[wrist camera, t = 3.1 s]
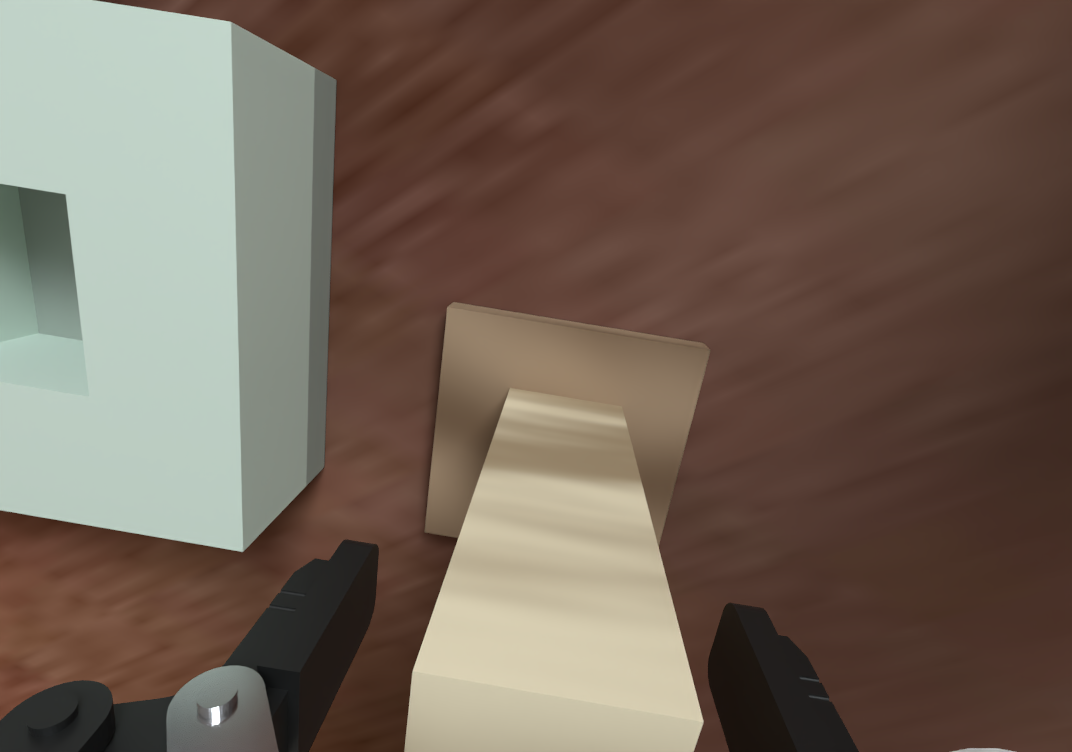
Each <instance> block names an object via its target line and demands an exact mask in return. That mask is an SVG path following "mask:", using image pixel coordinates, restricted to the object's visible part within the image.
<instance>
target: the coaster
mask: <svg viewBox="0 0 1072 752" xmlns="http://www.w3.org/2000/svg"><path fill="white" fill-rule="evenodd" d="M709 354H710V349H709V348H708V347H707V346H706V345H705V344H704V343H700V342H694V341H688V340H682V339H675V338H669V337H663V336H657V335H651V334H645V333H639V332H633V331H627V330H621V329H615V328H608V327H602V326H596V325H590V324H584V323H578V322H572V321H566V320H560V319H554V318H548V317H541V316H535V315H529V314H523V313H517V312H511V311H505V310H499V309H493V308H487V307H481V306H474V305H468V304H462V303H456V302H453V303H452V304H451V305H449V306H448V307H447V316H446V326H445V335H444V345H443V355H442V365H441V375H440V384H439V394H438V404H437V414H436V424H435V434H434V443H433V453H432V463H431V473H430V483H429V492H428V502H427V512H426V522H425V532H426V533H431V534H437V535H443V536H449V537H455V538H459V535H460V532H461V529H462V526H463V523H464V520H465V517H466V514H467V512H468V509H469V506H470V503H471V500H472V497H473V494H474V491H475V488H476V485H477V482H478V480H479V477H480V474H481V471H482V468H483V465H484V462H485V459H486V456H487V453H488V450H489V448H490V445H491V442H492V439H493V436H494V433H495V430H496V427H497V424H498V421H499V418H500V416H501V413H502V410H503V407H504V404H505V401H506V398H507V395H508V392H509V389H510V388H514V389H520V390H526V391H532V392H538V393H544V394H550V395H556V396H562V397H568V398H574V399H580V400H586V401H592V402H598V403H604V404H610V405H616V406H622V408H623V412H624V416H625V420H626V424H627V427H628V431H629V435H630V439H631V443H632V447H633V451H634V455H635V458H636V462H637V466H638V470H639V474H640V478H641V482H642V486H643V489H644V493H645V497H646V501H647V505H648V509H649V513H650V517H651V520H652V524H653V528H654V532H655V536H656V540H657V544H658V547H659V543H660V539H661V535H662V531H663V528H664V524H665V520H666V516H667V513H668V509H669V505H670V501H671V497H672V494H673V490H674V486H675V482H676V479H677V475H678V471H679V467H680V464H681V460H682V456H683V452H684V448H685V445H686V441H687V437H688V433H689V430H690V426H691V422H692V418H693V414H694V411H695V407H696V403H697V399H698V396H699V392H700V388H701V384H702V380H703V377H704V373H705V369H706V365H707V362H708V358H709Z"/></svg>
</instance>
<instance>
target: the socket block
mask: <svg viewBox="0 0 1072 752" xmlns="http://www.w3.org/2000/svg"><path fill="white" fill-rule="evenodd" d="M335 110H336V80H335V79H334V78H332V77H330V76H328V75H326V74H324V73H323V72H321V71H319V70H317V69H315V68H314V67H312V66H310V65H308V64H306V63H305V62H303V61H301V60H299V59H297V58H295V57H294V56H292V55H290V54H288V53H286V52H285V51H283V50H281V49H279V48H277V47H276V46H274V45H272V44H270V43H268V42H266V41H265V40H263V39H261V38H259V37H257V36H256V35H254V34H252V33H250V32H248V31H247V30H245V29H243V28H241V27H239V26H237V25H236V24H234V23H232V22H228V21H222V20H215V19H209V18H203V17H196V16H190V15H184V14H177V13H171V12H165V11H158V10H152V9H146V8H139V7H133V6H126V5H120V4H114V3H107V2H101V1H95V0H0V510H2V511H8V512H14V513H20V514H26V515H32V516H37V517H43V518H49V519H55V520H61V521H66V522H72V523H78V524H84V525H90V526H95V527H101V528H107V529H113V530H119V531H125V532H130V533H136V534H142V535H148V536H154V537H159V538H165V539H171V540H177V541H183V542H188V543H194V544H200V545H206V546H212V547H217V548H223V549H229V550H235V551H241V552H243V551H244V550H245V549H246V548H247V547H248V546H249V545H250V544H251V543H252V542H253V541H254V540H255V539H256V538H257V537H258V536H259V535H260V534H261V533H262V532H263V531H264V530H265V529H266V527H267V526H268V525H269V524H270V523H271V522H272V521H273V520H274V519H275V518H276V517H277V516H278V515H279V514H280V513H281V512H282V511H283V510H284V509H285V508H286V507H287V506H288V505H289V504H290V502H291V501H292V500H293V499H294V498H295V497H296V496H297V495H298V494H299V493H300V492H301V491H302V490H303V489H304V488H305V487H306V486H307V485H308V484H309V483H310V482H311V481H312V480H313V478H314V477H315V476H316V475H317V474H318V473H319V472H320V471H321V470H322V469H323V468H324V457H325V426H326V394H327V362H328V331H329V299H330V268H331V236H332V205H333V173H334V142H335Z"/></svg>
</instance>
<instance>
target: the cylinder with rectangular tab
mask: <svg viewBox="0 0 1072 752" xmlns="http://www.w3.org/2000/svg"><path fill="white" fill-rule="evenodd" d="M952 752H1014V751H1009V750H1003V749H998V748H968V749H963V750H957V751H952Z"/></svg>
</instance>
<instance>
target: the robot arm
mask: <svg viewBox="0 0 1072 752" xmlns="http://www.w3.org/2000/svg"><path fill="white" fill-rule="evenodd" d="M378 555H379V548H378V545H377V544H370V543H364V542H358V541H352V540H344V541H343V542H342V543H341V544H340V546H339V547H338V548H337V550H336V551H335V553H334V554H333V556H332V557H331V559H330V560H329V561H327V560H320V559H314V560H312V561H311V562H309V563H308V564H306V565H305V566H303V567H302V568H300V569H299V570H297V571H296V572H294V574H293V575H292V576H291V578H290V579H289V580H288V581H287V583H286V584H285V585H284V587H283V588H282V589H281V592H280V593H278V595H277V596H276V597H275V599H274V600H273V601H272V602H271V604H270V607H269V608H267V609H266V610H265V612H264V613H263V614H262V616H261V617H260V618H259V619H258V621H257V622H256V623H255V625H254V626H253V627H252V629H251V630H250V631H249V633H248V634H247V635H246V637H245V638H244V639H243V640H242V642H241V643H240V644H239V646H238V647H237V648H236V650H235V651H234V652H233V654H232V655H231V656H230V658H229V659H228V660H227V661H226V663H225V664H224V665H223V666H222V667H219V668H215V669H212V670H209V671H207V672H205V673H203V674H200V675H198V676H197V677H195V678H194V679H192V680H191V681H189V682H188V683H187V684H185V685H184V686H183V687H182V688H181V689H180V690H179V691H178V692H177V694H176V695H174V696H171V697H166V698H160V699H153V700H145V701H137V702H129V703H121V704H113V698H112V694H111V692H110V690H109V689H108V688H107V687H106V686H105V685H104V684H101V683H99V682H95V681H83V680H82V681H73V682H68V683H63V684H60V685H57V686H53V687H51V688H48V689H46V690H43V691H41V692H39V693H37V694H35V695H33V696H32V697H30V698H28V699H27V700H25V701H23V702H22V703H21V704H19V705H18V706H16V707H15V708H14V709H13V710H12V711H10V712H9V713H8V714H7V715H6V716H5V717H4V718H3V719H2V720H1V721H0V752H309V750H310V748H311V746H312V744H313V742H314V740H315V737H316V735H317V733H318V731H319V729H320V727H321V725H322V723H323V721H324V719H325V717H326V715H327V712H328V710H329V708H330V706H331V704H332V702H333V700H334V698H335V696H336V694H337V692H338V690H339V688H340V685H341V683H342V681H343V679H344V677H345V675H346V673H347V671H348V669H349V667H350V665H351V663H352V660H353V658H354V656H355V654H356V652H357V650H358V648H359V646H360V644H361V642H362V640H363V638H364V636H365V633H366V631H367V629H368V627H369V624H370V621H371V618H372V614H373V610H374V605H375V598H376V584H377V569H378ZM708 679H709V685H710V689H711V692H712V696H713V699H714V702H715V705H716V709H717V712H718V715H719V719H720V722H721V725H722V728H723V732H724V735H725V738H726V742H727V745H728V748H729V751H730V752H859V751H858V749H857V747H856V746H855V744H854V742H853V740H852V738H851V736H850V735H849V733H848V731H847V729H846V727H845V725H844V724H843V722H842V720H841V718H840V716H839V714H838V713H837V711H836V709H835V707H834V705H833V703H832V702H829V696H828V694H827V693H826V691H825V689H824V687H823V685H822V683H819V678H818V676H817V674H816V672H815V671H814V669H813V667H812V665H811V663H810V661H809V660H808V658H807V656H806V655H805V654H804V653H803V652H802V651H801V650H800V649H799V648H798V647H797V646H796V645H795V644H794V643H793V642H792V641H791V640H790V639H789V638H788V637H787V636H781V635H778V634H777V632H776V630H775V628H774V626H773V624H772V622H771V620H770V618H769V616H768V614H767V612H766V611H765V610H764V609H763V608H759V607H752V606H746V605H740V604H734V603H728V604H727V605H726V606H725V608H724V610H723V613H722V617H721V620H720V623H719V626H718V629H717V633H716V636H715V639H714V642H713V646H712V649H711V652H710V656H709V661H708Z"/></svg>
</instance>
